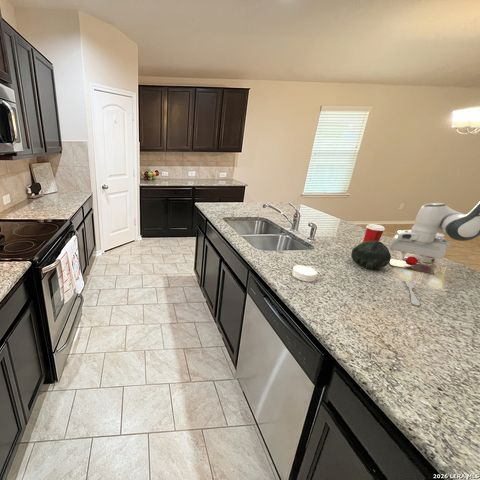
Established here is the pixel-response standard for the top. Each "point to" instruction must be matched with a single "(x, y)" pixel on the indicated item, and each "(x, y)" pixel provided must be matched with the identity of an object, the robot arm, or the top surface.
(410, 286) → the fork
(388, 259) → the squash
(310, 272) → the coaster
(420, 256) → the supplement can
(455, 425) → the top surface
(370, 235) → the coffee cup
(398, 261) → the serving board
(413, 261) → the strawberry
